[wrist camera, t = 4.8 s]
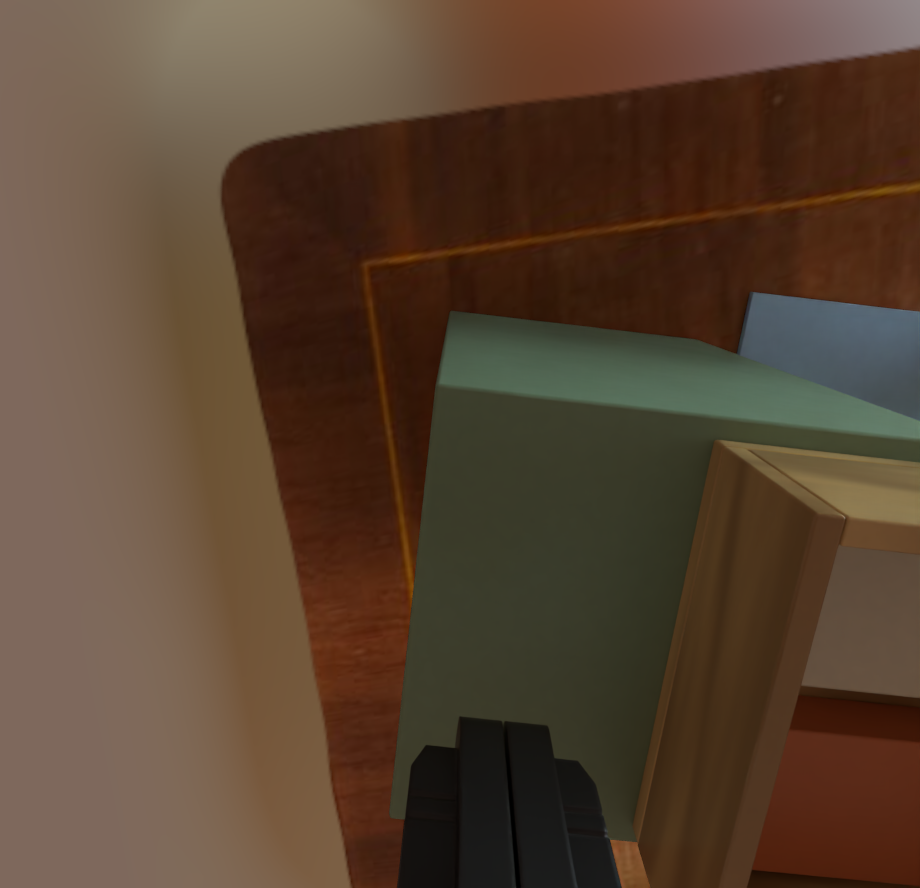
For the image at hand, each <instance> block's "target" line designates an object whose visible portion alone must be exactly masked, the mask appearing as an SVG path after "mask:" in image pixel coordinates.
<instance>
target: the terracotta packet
mask: <svg viewBox="0 0 920 888" xmlns="http://www.w3.org/2000/svg"><path fill="white" fill-rule="evenodd" d="M752 870H757V871H767V872H778V873H788V874H799V875H809V876H819V877H830V878H840V879H850V880H861V881H871V882H882V883H892V884H902V885H913V886H920V708H917V707H907V706H898V705H888V704H878V703H869V702H859V701H849V700H840V699H830V698H820V697H811V696H801V695H798V699H797V703H796V706H795V710H794V714H793V718H792V721H791V725H790V729H789V732H788V736H787V740H786V744H785V747H784V751H783V755H782V759H781V762H780V766H779V770H778V774H777V777H776V781H775V785H774V789H773V792H772V796H771V800H770V804H769V807H768V811H767V815H766V818H765V822H764V826H763V830H762V833H761V837H760V841H759V845H758V848H757V852H756V856H755V860H754V863H753V867H752Z"/></svg>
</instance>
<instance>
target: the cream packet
mask: <svg viewBox="0 0 920 888" xmlns="http://www.w3.org/2000/svg"><path fill="white" fill-rule="evenodd" d="M801 686H808V687H818V688H827V689H837V690H847V691H856V692H866V693H875V694H885V695H895V696H904V697H914V698H920V555H916V554H907V553H898V552H889V551H880V550H871V549H862V548H853V547H843V546H840V545H839V546H838V549H837V553H836V557H835V561H834V564H833V568H832V572H831V575H830V579H829V583H828V587H827V590H826V594H825V598H824V602H823V605H822V609H821V613H820V617H819V620H818V624H817V628H816V632H815V635H814V639H813V643H812V647H811V650H810V654H809V658H808V661H807V665H806V669H805V673H804V676H803V680H802V684H801Z"/></svg>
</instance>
